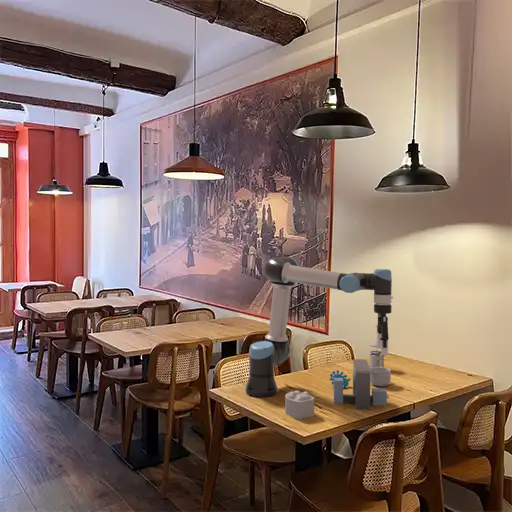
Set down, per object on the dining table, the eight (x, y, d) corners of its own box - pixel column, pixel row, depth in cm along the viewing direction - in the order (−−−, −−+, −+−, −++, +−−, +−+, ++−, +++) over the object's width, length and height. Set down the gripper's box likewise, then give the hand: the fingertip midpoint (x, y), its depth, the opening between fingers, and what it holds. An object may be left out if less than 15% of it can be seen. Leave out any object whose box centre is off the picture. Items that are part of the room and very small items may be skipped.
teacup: (386, 389, 241) (386, 373, 241) (365, 385, 247) (365, 370, 247) (395, 382, 253) (395, 367, 253) (374, 379, 259) (374, 364, 259)
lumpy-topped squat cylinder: (296, 420, 200) (297, 399, 200) (279, 410, 211) (279, 390, 211) (317, 415, 205) (317, 395, 205) (299, 406, 216) (299, 387, 216)
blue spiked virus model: (332, 387, 239) (329, 368, 246) (327, 392, 244) (324, 374, 250) (353, 388, 242) (349, 370, 249) (348, 394, 246) (345, 376, 253)
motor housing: (355, 409, 212) (355, 370, 212) (352, 394, 232) (352, 359, 232) (370, 410, 211) (370, 371, 211) (366, 395, 232) (366, 359, 231)
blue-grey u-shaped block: (334, 403, 221) (334, 380, 221) (333, 399, 226) (333, 377, 226) (389, 405, 218) (389, 383, 217) (387, 401, 223) (388, 379, 222)
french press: (364, 368, 279) (364, 325, 278) (376, 365, 287) (376, 322, 286) (379, 372, 272) (379, 327, 271) (390, 368, 280) (391, 324, 279)
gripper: (395, 307, 206) (395, 358, 207) (387, 300, 231) (387, 345, 232) (377, 307, 207) (376, 357, 208) (371, 300, 232) (371, 345, 233)
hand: (382, 351), depth 220 cm, fingers open, 13 cm apart
